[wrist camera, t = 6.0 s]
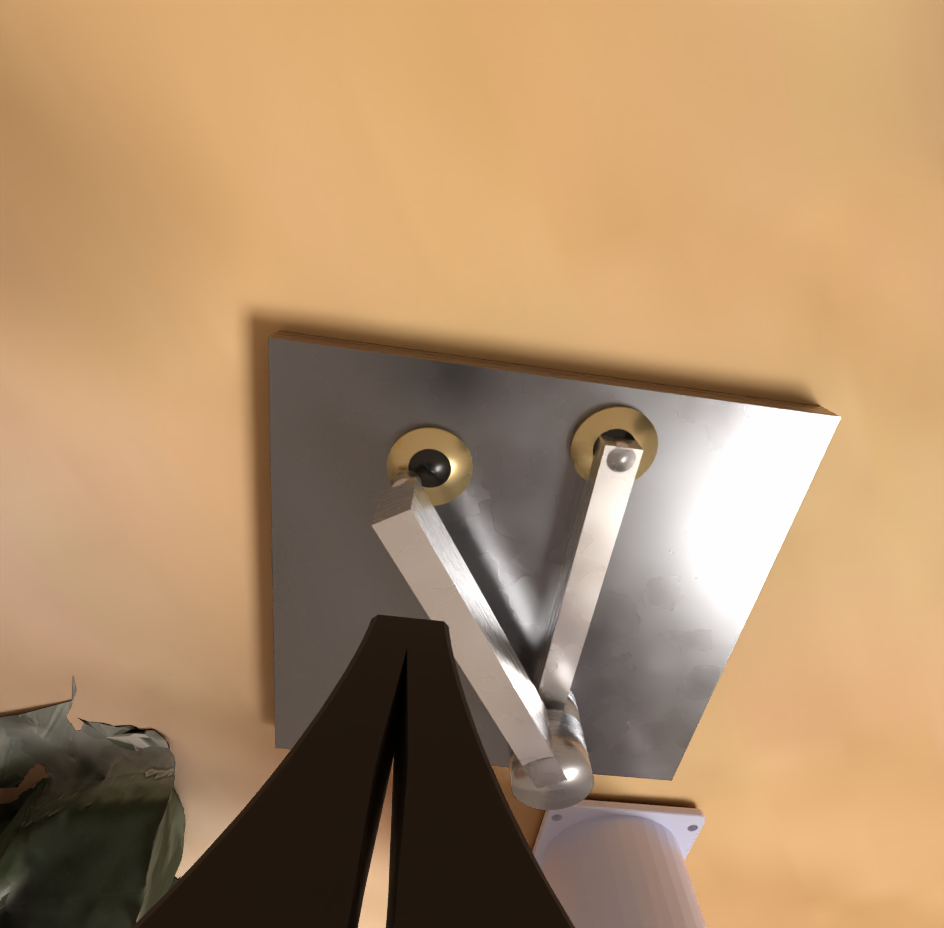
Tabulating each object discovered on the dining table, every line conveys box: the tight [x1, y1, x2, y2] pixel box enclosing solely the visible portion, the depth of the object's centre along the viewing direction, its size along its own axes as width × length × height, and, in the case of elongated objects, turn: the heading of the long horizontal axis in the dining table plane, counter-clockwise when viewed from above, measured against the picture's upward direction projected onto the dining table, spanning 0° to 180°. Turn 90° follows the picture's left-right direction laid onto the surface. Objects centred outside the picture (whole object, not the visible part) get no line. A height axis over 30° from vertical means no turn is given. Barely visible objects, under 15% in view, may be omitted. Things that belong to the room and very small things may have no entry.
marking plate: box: [268, 331, 841, 781], centre depth 20 cm, size 18×18×2 cm
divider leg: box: [372, 470, 594, 810], centre depth 18 cm, size 14×3×3 cm, turn 24°
